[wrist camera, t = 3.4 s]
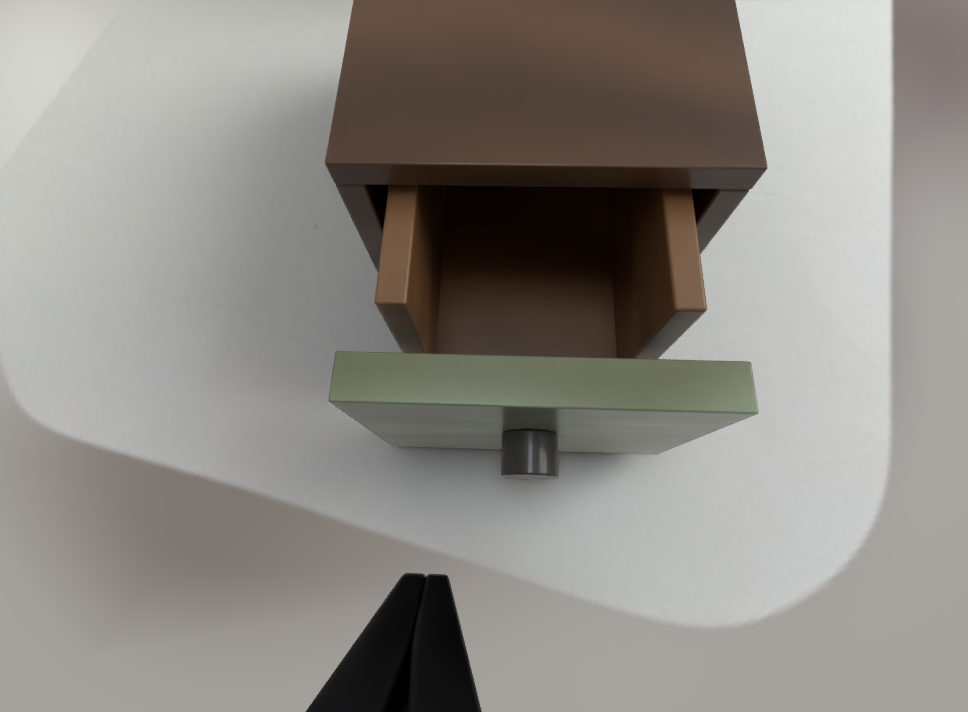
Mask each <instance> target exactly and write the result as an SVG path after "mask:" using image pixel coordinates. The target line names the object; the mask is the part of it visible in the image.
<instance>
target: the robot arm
mask: <svg viewBox="0 0 968 712" xmlns="http://www.w3.org/2000/svg"><path fill="white" fill-rule="evenodd" d="M306 712H481V707H480V703H479V700H478V695H477V691H476V687H475V683H474V679H473V675H472V671H471V667H470V663H469V658H468V654H467V651H466V647H465V642H464V638H463V635H462V630H461V626H460V622H459V618H458V614H457V610H456V606H455V601H454V597H453V594H452V589H451V585H450V581H449V578H448V576H447V575H444V574H442V575H441V574H429V575H427V576H425V575H424V574H419V573H406V574H404V575H403V576H402V577H401V578H400V579H399V581H398V582H397V584H396V585H395V587H394V588H393V589H392V591H391V592H390V594H389V595H388V596H387V598H386V599H385V601H384V602H383V604H382V605H381V606H380V608H379V609H378V610H377V612H376V613H375V615H374V616H373V618H372V619H371V620H370V622H369V623H368V625H367V626H366V628H365V629H364V630H363V632H362V633H361V634H360V636H359V637H358V639H357V640H356V641H355V643H354V644H353V646H352V647H351V649H350V650H349V651H348V653H347V654H346V656H345V657H344V658H343V660H342V661H341V663H340V664H339V665H338V667H337V668H336V670H335V671H334V673H333V674H332V675H331V677H330V678H329V680H328V681H327V682H326V684H325V685H324V687H323V688H322V689H321V691H320V692H319V694H318V695H317V697H316V698H315V699H314V701H313V702H312V704H311V705H310V706H309V708H308V709H307V711H306Z"/></svg>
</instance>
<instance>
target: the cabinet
mask: <svg viewBox="0 0 968 712" xmlns="http://www.w3.org/2000/svg"><path fill="white" fill-rule="evenodd" d="M325 164H326V166H327V168H328V170H329V172H330V175H331V177H332V179H333V181H334V183H335V184H336V187H337V189H338V191H339V193H340V195H341V197H342V199H343V201H344V203H345V205H346V207H347V209H348V212H349V214H350V216H351V218H352V220H353V222H354V224H355V226H356V228H357V230H358V232H359V234H360V237H361V239H362V241H363V243H364V245H365V247H366V249H367V251H368V253H369V255H370V257H371V259H372V262H373V264H374V266H375V268H376V270H377V272H378V270H379V262H380V254H381V246H382V237H383V229H384V221H385V212H386V204H387V196H388V188H389V185H450V186H528V187H606V188H684V189H692V196H693V204H694V212H695V219H696V227H697V235H698V243H699V250H700V254H701V253H702V251H703V250H704V249H705V248H706V246H707V245H708V244H709V242H710V241H711V240H712V238H713V237H714V236H715V235H716V233H717V232H718V231H719V229H720V228H721V227H722V226H723V224H724V223H725V222H726V220H727V219H728V218H729V216H730V215H731V214H732V213H733V211H734V210H735V209H736V207H737V206H738V205H739V203H740V202H741V201H742V200H743V198H744V197H745V196H746V194H747V193H748V192H749V189H752V188H753V186H754V185H755V184H756V182H757V181H758V180H759V178H760V177H761V176H762V175H763V173H764V172H765V171H766V169H767V162H766V157H765V152H764V147H763V142H762V137H761V131H760V126H759V121H758V116H757V111H756V106H755V101H754V95H753V90H752V85H751V80H750V75H749V70H748V65H747V60H746V54H745V49H744V44H743V39H742V34H741V29H740V24H739V18H738V13H737V8H736V3H735V0H354V1H353V7H352V12H351V18H350V24H349V29H348V35H347V41H346V46H345V52H344V58H343V63H342V69H341V75H340V80H339V86H338V92H337V97H336V103H335V109H334V114H333V120H332V126H331V131H330V137H329V143H328V148H327V154H326V160H325Z"/></svg>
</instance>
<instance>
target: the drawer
mask: <svg viewBox="0 0 968 712" xmlns="http://www.w3.org/2000/svg"><path fill="white" fill-rule="evenodd" d="M375 304H376V306H377V308H378V309H379V311H380V313H381V315H382V317H383V318H384V320H385V322H386V324H387V325H388V327H389V329H390V331H391V333H392V334H393V336H394V338H395V340H396V342H397V343H398V345H399V347H400V349H401V350H402V352H403V353H385V352H345V351H337V352H336V353H335V359H334V366H333V373H332V380H331V387H330V394H329V402H331V403H332V404H333V405H335V406H336V407H338V408H339V409H341V410H342V411H343V412H345V413H346V414H348V415H349V416H351V417H352V418H353V419H355V420H356V421H358V422H359V423H360V424H362V425H363V426H365V427H366V428H368V429H369V430H370V431H372V432H373V433H375V434H376V435H377V436H379V437H380V438H382V439H383V440H385V441H386V442H387V443H389V444H390V445H392V446H409V447H440V448H472V449H502V451H501V476H503V477H506V478H514V479H536V480H541V479H556V478H558V477H559V452H558V451H566V452H598V453H629V454H659V453H662V452H664V451H666V450H669V449H671V448H674V447H676V446H679V445H681V444H684V443H686V442H689V441H691V440H694V439H696V438H699V437H701V436H704V435H706V434H709V433H711V432H714V431H716V430H719V429H721V428H724V427H726V426H729V425H731V424H734V423H736V422H739V421H741V420H744V419H746V418H748V417H751V416H753V415H756V414H758V405H757V399H756V392H755V386H754V380H753V373H752V367H751V362H744V361H704V360H664V359H658V358H659V357H660V356H661V355H662V354H663V353H664V352H665V351H666V350H667V349H668V348H669V347H670V346H671V345H672V344H673V343H674V342H675V341H676V340H677V339H678V338H679V337H680V336H681V335H682V334H683V333H684V332H685V331H686V330H687V329H689V328H690V327H691V326H692V325H693V324H694V323H695V322H696V321H697V320H698V319H699V318H700V317H701V316H702V315H703V314H704V313H705V312H706V310H707V305H706V297H705V289H704V281H703V274H702V266H701V258H700V250H699V243H698V235H697V227H696V219H695V212H694V204H693V196H692V189H684V188H606V187H528V186H450V185H389V188H388V196H387V204H386V212H385V221H384V229H383V237H382V246H381V254H380V262H379V270H378V279H377V287H376V295H375Z"/></svg>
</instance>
